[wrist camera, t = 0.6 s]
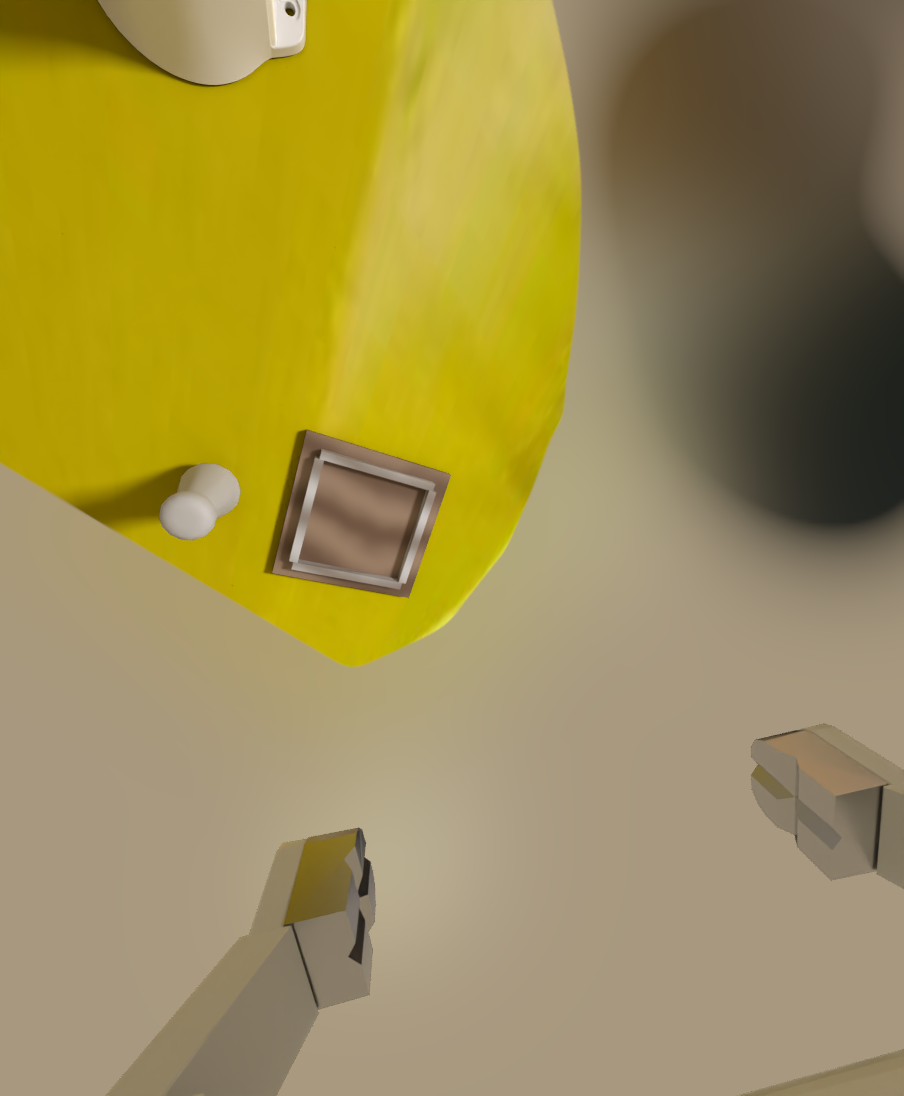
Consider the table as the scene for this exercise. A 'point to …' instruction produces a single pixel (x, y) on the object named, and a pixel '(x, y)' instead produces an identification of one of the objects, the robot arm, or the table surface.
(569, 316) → the table surface
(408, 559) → the socket plate
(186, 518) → the salt shaker
